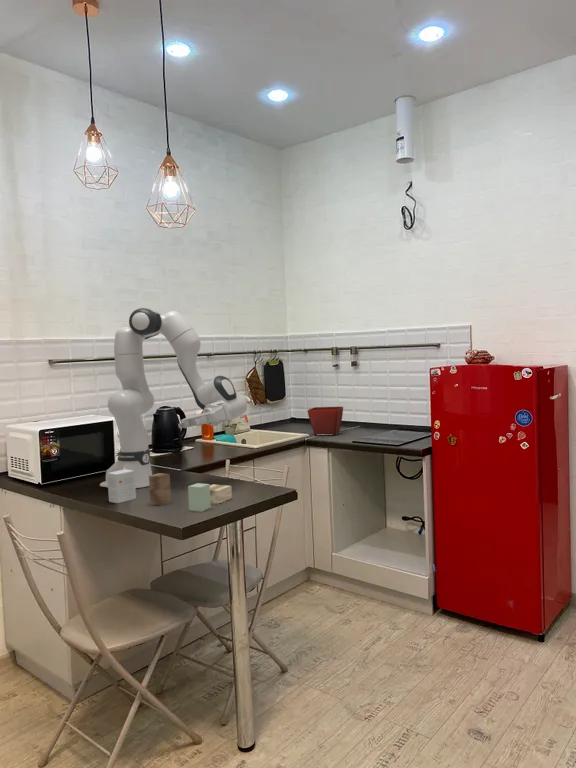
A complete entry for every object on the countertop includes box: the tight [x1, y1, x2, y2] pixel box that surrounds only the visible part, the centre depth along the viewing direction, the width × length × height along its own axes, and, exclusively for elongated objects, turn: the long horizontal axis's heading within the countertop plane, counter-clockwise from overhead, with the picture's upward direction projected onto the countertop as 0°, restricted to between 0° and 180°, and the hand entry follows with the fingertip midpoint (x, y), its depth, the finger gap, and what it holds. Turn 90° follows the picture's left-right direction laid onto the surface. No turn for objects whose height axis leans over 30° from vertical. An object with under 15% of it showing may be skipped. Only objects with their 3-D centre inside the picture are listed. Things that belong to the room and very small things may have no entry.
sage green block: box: [187, 482, 212, 513], centre depth 192 cm, size 5×5×8 cm
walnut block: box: [148, 472, 172, 507], centre depth 203 cm, size 5×5×10 cm
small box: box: [107, 469, 137, 504], centre depth 210 cm, size 8×6×10 cm
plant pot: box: [307, 406, 344, 435], centre depth 368 cm, size 19×19×17 cm
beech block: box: [210, 483, 233, 503], centre depth 203 cm, size 8×8×5 cm
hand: (187, 424), depth 217 cm, fingers open, 8 cm apart
